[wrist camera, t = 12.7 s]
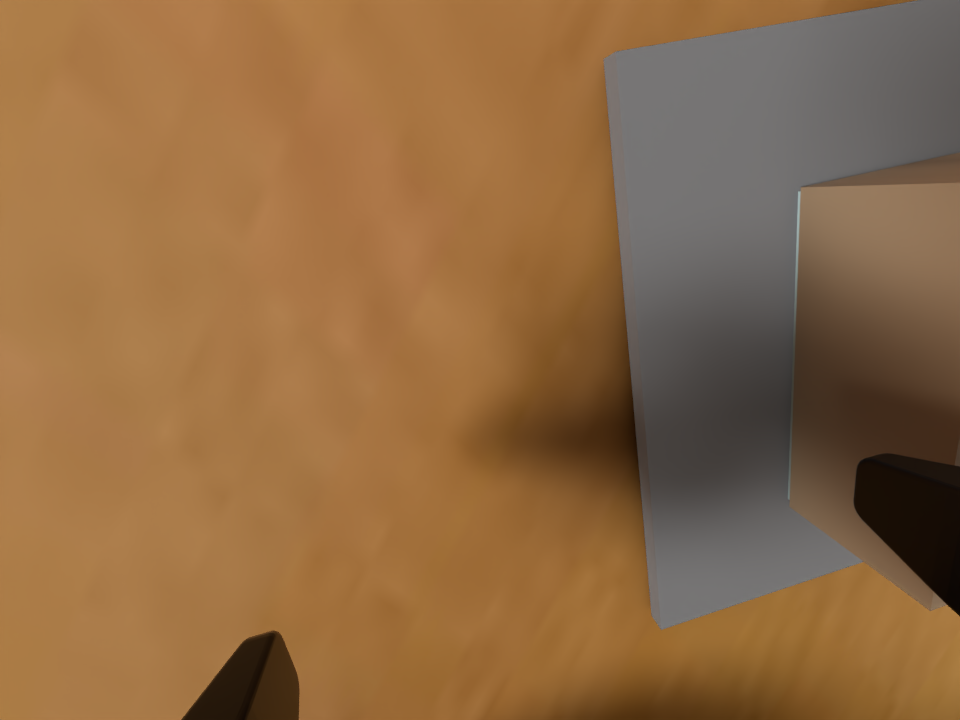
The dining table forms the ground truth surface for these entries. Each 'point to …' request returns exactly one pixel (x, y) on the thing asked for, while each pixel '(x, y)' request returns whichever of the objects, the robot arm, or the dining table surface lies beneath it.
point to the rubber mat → (747, 266)
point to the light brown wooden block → (874, 343)
